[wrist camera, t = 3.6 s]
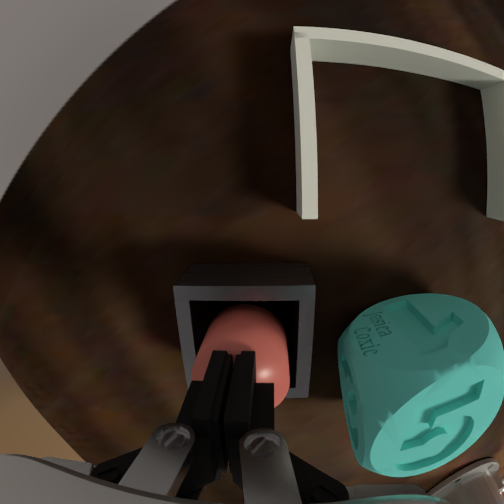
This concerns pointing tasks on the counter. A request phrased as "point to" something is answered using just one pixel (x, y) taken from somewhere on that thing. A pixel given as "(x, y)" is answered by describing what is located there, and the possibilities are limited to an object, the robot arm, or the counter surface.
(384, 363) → the decorative dice
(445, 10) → the counter surface
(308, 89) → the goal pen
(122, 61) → the counter surface
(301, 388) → the button collar
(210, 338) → the button
